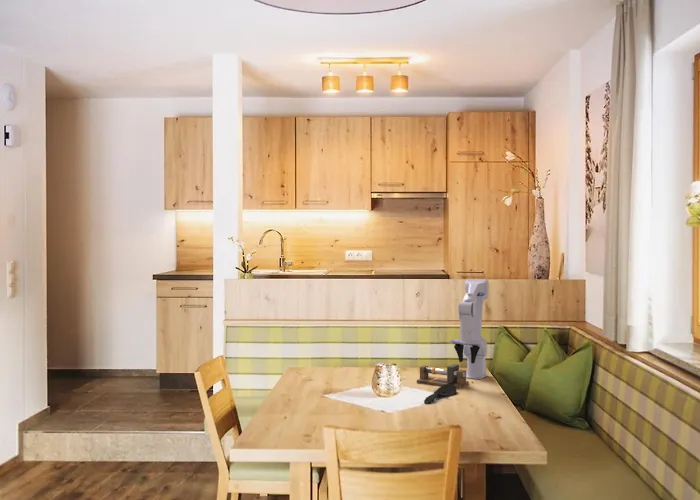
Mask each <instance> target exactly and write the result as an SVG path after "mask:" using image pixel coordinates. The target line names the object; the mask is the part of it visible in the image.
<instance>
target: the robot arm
mask: <svg viewBox="0 0 700 500" xmlns="http://www.w3.org/2000/svg"><path fill="white" fill-rule="evenodd" d="M464 285H465V287H464V289H465V294H464V296H463V299H462V301H461V302H459V304H458V309H457V310H458V318H459V319H458V320H459V331H460V332H459V339H457V338H451V339H450V340H449V341H450V345H454V346H453V348H454V349H455V351H456V354H457V357H458V361H459V363H462V362H464V356H465V357H466V359H467V360H466V361H467V365H466V366H467V370H466V379H467V378H468V379H476V380H482V379H484V378H485V377H488V376H489V374H488V373H487V360H486V358H485V357H486V356H487V355H488V342H487V340H486V338H485V337H483V336H482V328H483V327H482V326H483V325H482V323H483V309H484V308H483V307H484V302H485V300H487V299H488V298H489V287H490V286H489V280H488V279H469V278H467V279H466V280H465V284H464Z"/></svg>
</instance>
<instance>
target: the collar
mask: <svg viewBox="0 0 700 500" xmlns="http://www.w3.org/2000/svg"><path fill="white" fill-rule="evenodd" d="M446 370H447V375H446V378H447V382H450V383H453V382H455V381H457V377H456V376H454V371H460V365H459V364H458V363H457V364H456V363H455V364H454V363H453V364H451V365H448V366H446Z"/></svg>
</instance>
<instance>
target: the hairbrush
mask: <svg viewBox="0 0 700 500" xmlns="http://www.w3.org/2000/svg"><path fill="white" fill-rule="evenodd" d="M441 385H442V384H441ZM456 393H457V388H456V386H455V384H449V383H448V382H447V384H444V385H443V386H438V387H436V389H435V390H433V393H432V394H430V395H428V396H426V397H425V398H424V400H423V404H425V405H431V404H432V403H434V402H435V399H436V398H437V397H439V398H440V397H441V398H449V397H453V396H455V395H456Z"/></svg>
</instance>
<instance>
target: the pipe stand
mask: <svg viewBox="0 0 700 500" xmlns="http://www.w3.org/2000/svg"><path fill="white" fill-rule="evenodd" d="M429 374H432V375H439V376H440V375H442V376H447V369H443V368H437V367H429V365H428V364H426V365H425V364H424V365H421V366H419V378H418V379H416V384H423V385H430V386H435V387H436V386H437V387H440V386H443V385H444V384H447V377H438V376H430V375H429ZM466 375H467V370H466V369H459V371H454V376H456V377H457V381H455V382H453V383H450V382H448V383H449V384H455V386H456V390H457V389H458V390H459V389H461V388H463V387H466V386H468V385H470V382H469V380H467V378H466ZM441 384H442V385H441Z"/></svg>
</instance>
